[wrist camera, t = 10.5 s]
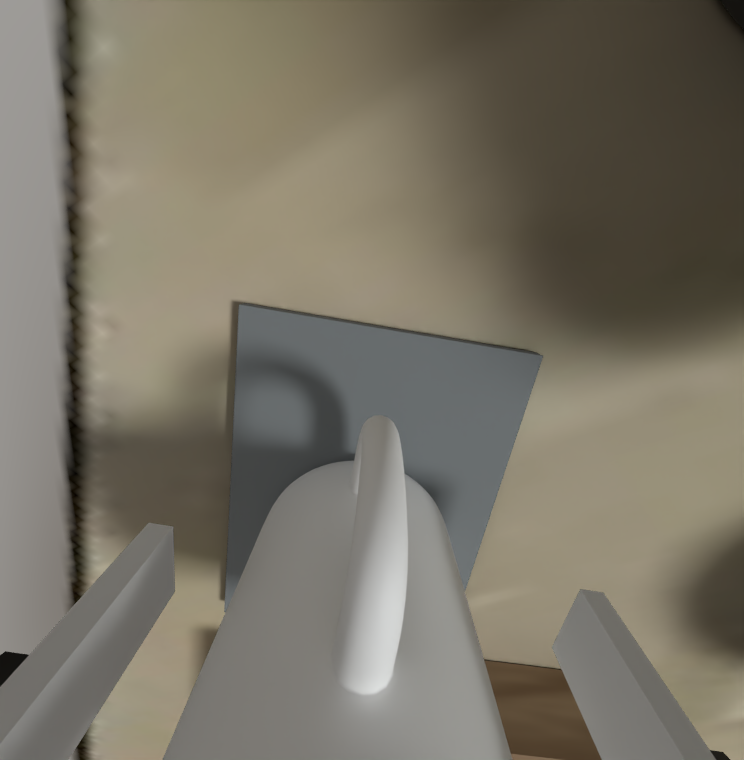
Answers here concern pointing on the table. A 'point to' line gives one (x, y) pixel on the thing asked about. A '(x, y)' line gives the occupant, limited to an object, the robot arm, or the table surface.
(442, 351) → the mat
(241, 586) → the cup
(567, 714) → the frame
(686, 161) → the table surface
